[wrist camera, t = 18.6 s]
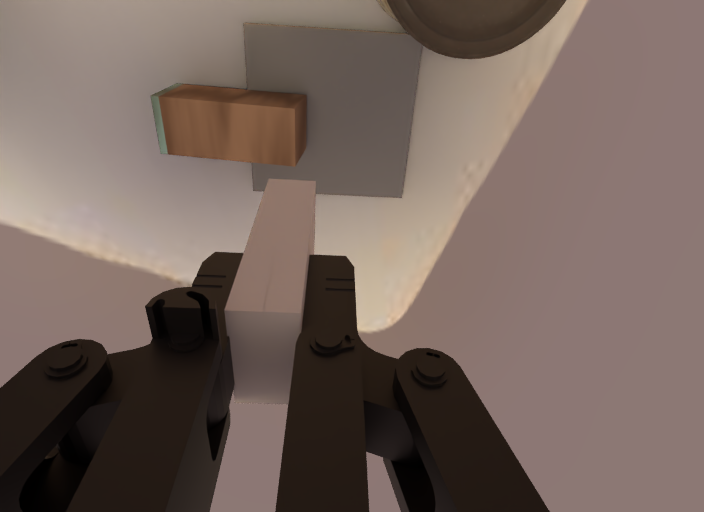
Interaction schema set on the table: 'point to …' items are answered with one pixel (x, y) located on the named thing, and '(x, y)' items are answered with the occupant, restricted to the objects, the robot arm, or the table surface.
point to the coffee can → (471, 23)
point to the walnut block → (231, 124)
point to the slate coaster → (340, 103)
